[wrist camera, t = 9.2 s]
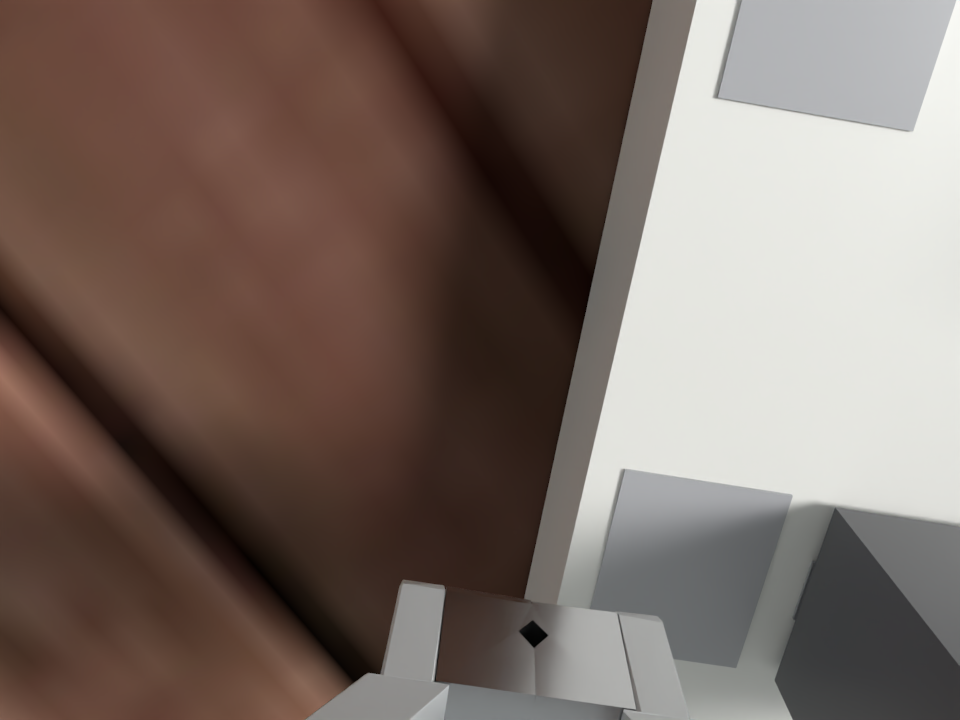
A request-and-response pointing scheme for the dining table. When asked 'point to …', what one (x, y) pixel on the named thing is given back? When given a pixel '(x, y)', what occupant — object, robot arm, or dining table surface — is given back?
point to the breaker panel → (762, 326)
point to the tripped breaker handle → (877, 624)
